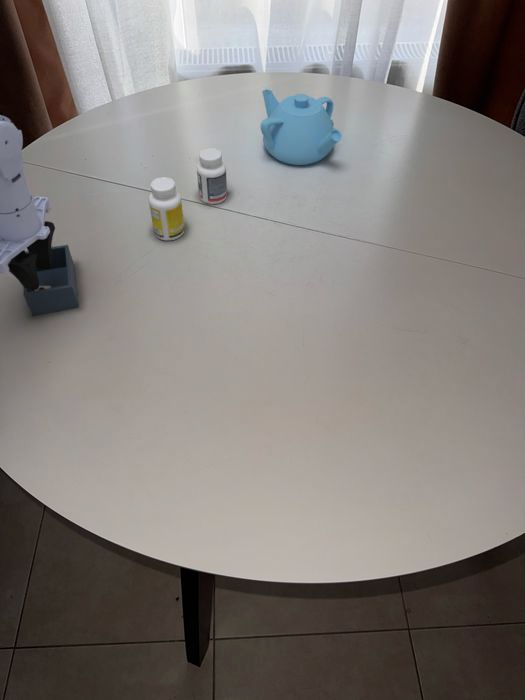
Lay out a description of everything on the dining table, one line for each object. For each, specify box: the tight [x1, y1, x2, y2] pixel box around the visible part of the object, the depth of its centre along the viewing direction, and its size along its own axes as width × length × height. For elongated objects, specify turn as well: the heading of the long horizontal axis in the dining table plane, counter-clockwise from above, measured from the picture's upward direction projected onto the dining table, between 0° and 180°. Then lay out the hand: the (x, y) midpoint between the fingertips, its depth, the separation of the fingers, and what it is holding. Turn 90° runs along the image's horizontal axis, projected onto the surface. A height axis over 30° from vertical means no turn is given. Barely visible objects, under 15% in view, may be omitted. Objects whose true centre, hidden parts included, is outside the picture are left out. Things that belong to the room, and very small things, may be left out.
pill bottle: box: [196, 147, 228, 205], centre depth 106 cm, size 5×5×9 cm
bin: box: [22, 244, 80, 316], centre depth 91 cm, size 10×7×4 cm
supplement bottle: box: [148, 176, 185, 241], centre depth 99 cm, size 5×5×10 cm
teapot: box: [260, 88, 343, 166], centre depth 116 cm, size 15×17×11 cm
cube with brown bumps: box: [35, 286, 51, 291], centre depth 89 cm, size 2×2×2 cm
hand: (38, 277), depth 86 cm, fingers open, 4 cm apart
